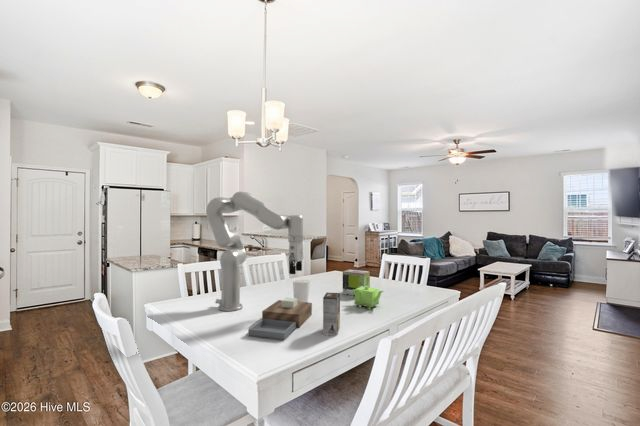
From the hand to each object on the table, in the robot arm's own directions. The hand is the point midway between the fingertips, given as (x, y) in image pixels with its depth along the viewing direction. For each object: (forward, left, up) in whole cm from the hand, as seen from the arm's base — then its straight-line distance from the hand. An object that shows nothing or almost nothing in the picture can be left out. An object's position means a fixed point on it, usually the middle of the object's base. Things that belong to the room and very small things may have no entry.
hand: (295, 272), depth 170 cm
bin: (0, -29, -21) cm, 36 cm away
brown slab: (0, -10, -21) cm, 23 cm away
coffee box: (+24, -20, -21) cm, 38 cm away
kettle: (+34, +23, -21) cm, 46 cm away
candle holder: (-4, +22, -21) cm, 31 cm away
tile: (0, -8, -15) cm, 17 cm away
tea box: (+24, +49, -21) cm, 58 cm away
